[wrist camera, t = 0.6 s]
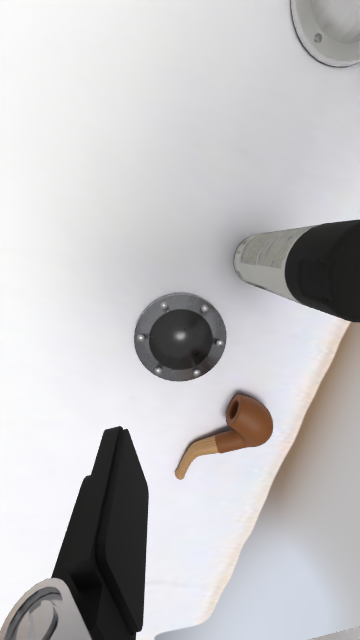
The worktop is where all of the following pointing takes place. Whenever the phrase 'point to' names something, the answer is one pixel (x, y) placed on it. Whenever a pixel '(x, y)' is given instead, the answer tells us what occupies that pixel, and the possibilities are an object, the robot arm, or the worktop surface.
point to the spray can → (307, 266)
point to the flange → (180, 337)
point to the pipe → (233, 432)
